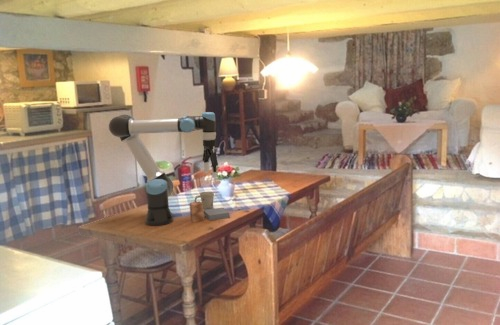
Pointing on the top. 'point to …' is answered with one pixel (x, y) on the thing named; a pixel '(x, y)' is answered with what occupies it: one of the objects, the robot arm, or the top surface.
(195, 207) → the block
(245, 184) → the top surface
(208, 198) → the mug
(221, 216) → the base
